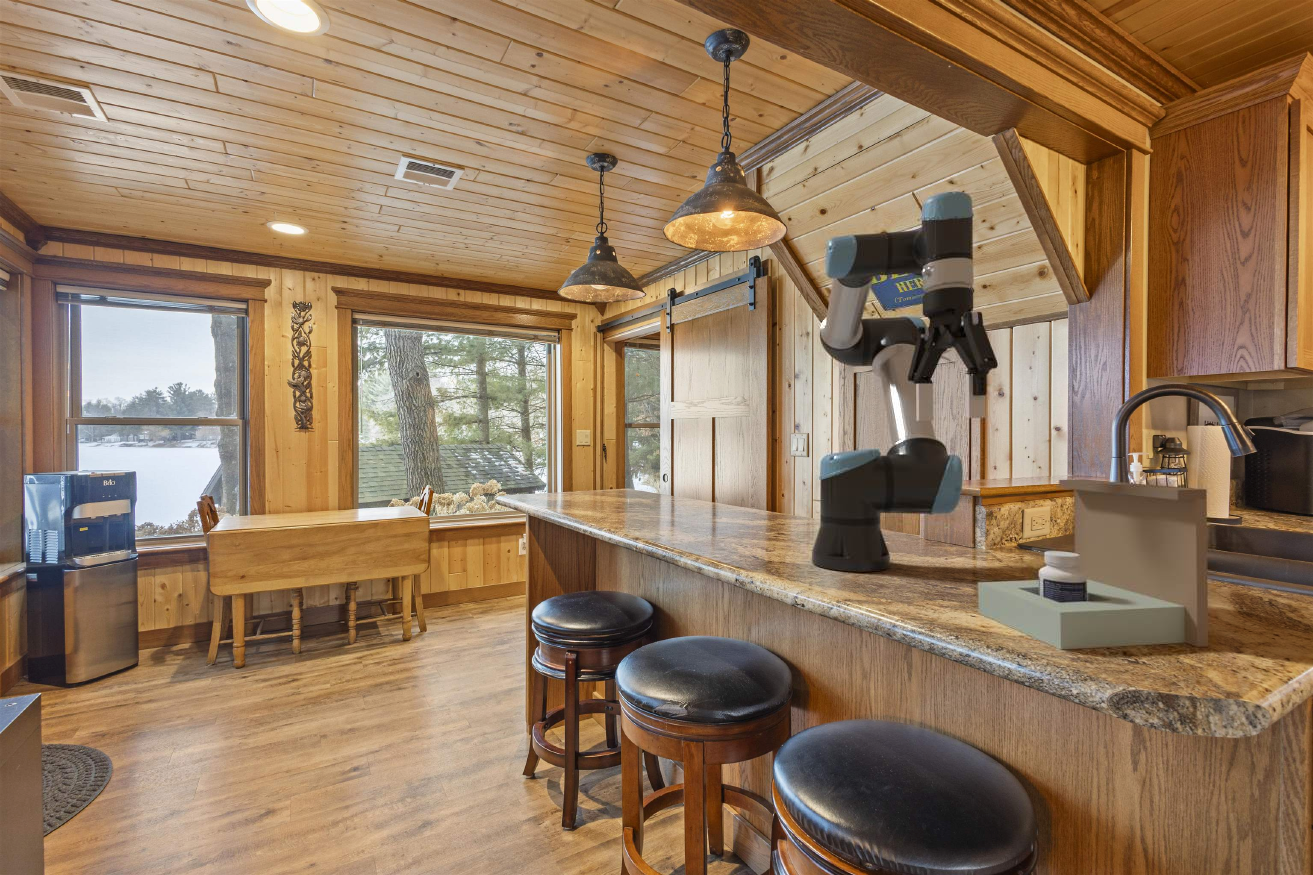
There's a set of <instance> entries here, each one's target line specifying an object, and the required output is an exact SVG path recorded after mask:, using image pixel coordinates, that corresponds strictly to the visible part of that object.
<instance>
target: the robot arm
mask: <svg viewBox="0 0 1313 875" xmlns="http://www.w3.org/2000/svg"><path fill="white" fill-rule="evenodd" d="M921 208H922V209H921V216H920V221H921V228H920V229H918V230H904V231H894V232H893V231H892V232H880V233H879V232H878V233H865V234H864V233H863V234H862V233H861V234H846V235H841V236H834V237H831V238H829V239H828V241H827V243H826V247H825V274H826V276H827V277H828V278H829V279H832V284H831V290H830V296H829V302H828V308H827V312H826V317H825V318H824V319H823V320H822V322H821V325H820V329H819V340H820V343H821V345H822V346H821V347H822V348H823V349H824V351H825V352H826V353H827V354H828V355H829V356H830V357H832V359H834V360H835V361H837V362H838V363H839V364H844V365H846V366H850V367H872V368H871V369H872V371H873V373H874V374H875V375H876V376H878V378H879V379H881V380H880V381H881V385H882V391H883V397H884V398H883V399H884V404H885V408H886V417H887V422H888V429H889V434H890V442H891V446H890V447H889V448H888V450H887V451H886V455H881V454H882V453H881V451H880V449H879V448H867V449H857V450H848V451H842V452H841V451H840V452H835V453H830V454H826V455H825V456H823V457H822V458H821V460H820V468H819V470H820V471H819V477H818V479H819V480H820V494H819V496H820V497H819V498H820V499H819V500H820V504H819V506H820V511H819V513H820V515H819V516H820V518H819V519H820V523H819V524H820V525H819V529H818V532H817V535H816V537H815V538H816V539H815V542H814V544H813V548H812V550H811V563H812V564H813V563H814V564H813V565H815V566H816V567H820V568H823V569H827V570H834V571H843V572H856V573H857V572H860V573H861V572H862V573H864V572H869V573H870V572H878V571H884V570H888V569H889V568H890V567H891V555H890V552H889V549H888V547H887V543H886V540H885V537H884V534H883V531H882V528H881V514H909V515H910V514H915V515H916V514H917V515H918V514H919V515H921V514H923V515H927V514H928V515H930V516H933V515H939V514H940V515H941V514H943V515H944V514H950V513H953V512H954V511H955V510H956V508H957V506H958V504H959V502H960V499H961V498H960V497H961V495H962V488H963V477H964V476H963V472H964V471H963V462H962V459H961V458H960V456H959V455H957V454H954V453H953V454H948V450H947V449H948V448H947V446H946V445H945V444H944V443H943V442H942V441H941V440H939V439H937V438H936V434H935V431H934V426H933V421H934V382H933V380H932V378H933V376H934V373H935V371H936V370H937V369H936V368H937V366H938V364H939V362H940V359H941V357H942V355H943V354H944V353H945V352H947V350H948V349H951V348H953V347H954V350H955V352H956V353H957V354H958V356H959V358H960V359H961V360H962V362H963V364H964V365H965V367H966V369H967V370H966V372H965V374H966V375H965V418H966V419H986V418H987V417H986V415H987V413H986V396H987V393H988V392H987V391H988V388H987V380H988V378H987V377H988V376H987V375H988V374H989V373H990V371H991V370H994V369H997V368H998V364H999V363H998V360H997V357H996V355H995V352H994V350H993V347H992V345H991V342H990V339H989V336H988V334H987V331H986V328H985V326H984V320H983V318H984V317H983V312H981V311H974V290H973V289H972V287H973V286H974V284H975V283H974V282H975V281H974V280H975V279H974V261H973V260H974V259H973V255H974V249H973V246H974V245H973V244H974V243H973V242H974V239H973V238H974V237H973V236H974V234H973V233H974V231H973V230H974V226H973V219H974V215H975V214H974V213H973V201H972V197H971V195H970V194H968V193H967V192H964V191H946V192H941V193H937V194H935V195H932V196H930V197H929V198H927V199H926V200H925V201H924V202H923V204H922V207H921ZM892 275H893V276H894V275H911V276H913V277H916V278H917V279H918V278H920V279H922V291H923V292H925V293H924V294H923V295H922V316H923V317H926V318H928V319H929V323H928V324H929V325H927V324H926V322H925V321H924V320H923V318H921V317H919V316H907V315H901V316H897V317H894V316H893V317H874V318H873V317H871V318H863V315H864V312H865V308H866V304H867V302H868V298H869V295H870V291H871V287H872V284H873V280H874V277H876V276H877V277H879V276H892Z"/></svg>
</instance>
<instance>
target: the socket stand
mask: <svg viewBox="0 0 1313 875" xmlns="http://www.w3.org/2000/svg"><path fill="white" fill-rule="evenodd" d="M1058 488H1060V489H1070V490H1073V499H1074V500H1073V504H1074V505H1073V509H1074V510H1073V514H1074V521H1073V522H1074V527H1073V528H1074V553H1075V554H1079V555H1080V566H1078V569H1079V570H1080V571H1082V572H1084V573H1085V575H1086V577H1087V602H1066V603H1059V602H1056V601H1053V600H1050V599H1048V598H1045V597H1042V596H1039V579H1034V580H1033V579H1031V580H1029V579H1028V580H1010V581H1009V580H1008V581H1004V580H1003V581H982V582H977V584H978V585H977V587H978V588H977V589H978V590H977V591H978V592H977V594H978V595H977V596H978V597H977V598H978V599H977V600H978V602H977V603H978V605H977V606H978V612H977V613H978V614H979V615H981V616H984V617H986V618H989V619H991V620H993V621H996V622H998V623H1000V624H1002V625H1004V626H1006V627H1009V628H1011V629H1013V630H1016V631H1018V632H1020V633H1022V634H1025V635H1027V636H1029V637H1032V638H1034V639H1036V640H1038V641H1041V642H1043V643H1046V645H1050V646H1052V647H1054V648H1057V649H1058V650H1061V651H1062V650H1076V649H1095V648H1098V649H1099V648H1113V647H1116V648H1117V647H1129V646H1130V647H1133V646H1134V647H1135V646H1148V645H1149V646H1150V645H1151V646H1152V645H1165V644H1166V645H1167V644H1168V645H1169V644H1182V643H1183V644H1188V645H1191V646H1194V647H1197V648H1201V647H1209V606H1208V601H1209V599H1208V598H1209V597H1208V586H1209V585H1208V515H1207V514H1208V511H1207V510H1208V507H1207V506H1208V505H1207V504H1208V503H1207V502H1208V501H1207V499H1208V498H1207V496H1208V495H1207V489H1205V488H1196V487H1195V488H1193V487H1184V486H1183V487H1181V486H1167V485H1158V484H1157V485H1156V484H1146V483H1133V482H1132V483H1130V482H1120V481H1119V482H1117V481H1109V480H1108V481H1107V480H1093V479H1083V478H1082V479H1078V478H1077V479H1058Z"/></svg>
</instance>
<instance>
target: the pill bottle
mask: <svg viewBox="0 0 1313 875" xmlns="http://www.w3.org/2000/svg"><path fill="white" fill-rule="evenodd" d="M1043 559H1044V563H1045V564H1046V566H1043V567H1041V568H1040V569H1039V570H1038V580H1039V596H1042V597H1045V598H1048V599H1050V600H1053V601H1056V602H1059V603H1066V602H1087V577H1086V575H1085V573H1084V572H1082V571H1080V570H1079V569H1078V566H1080V555H1079V554H1075V552H1069V551H1059V550H1056V551H1055V550H1052V551H1051V550H1050V551H1049V550H1048V551H1044V558H1043Z"/></svg>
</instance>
